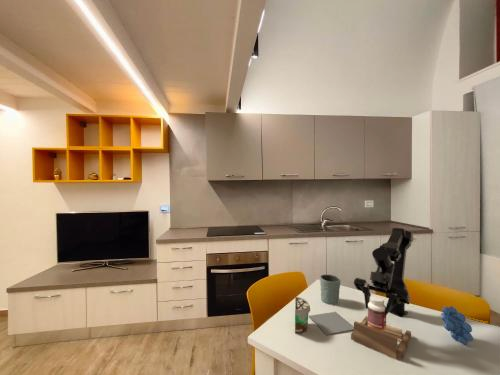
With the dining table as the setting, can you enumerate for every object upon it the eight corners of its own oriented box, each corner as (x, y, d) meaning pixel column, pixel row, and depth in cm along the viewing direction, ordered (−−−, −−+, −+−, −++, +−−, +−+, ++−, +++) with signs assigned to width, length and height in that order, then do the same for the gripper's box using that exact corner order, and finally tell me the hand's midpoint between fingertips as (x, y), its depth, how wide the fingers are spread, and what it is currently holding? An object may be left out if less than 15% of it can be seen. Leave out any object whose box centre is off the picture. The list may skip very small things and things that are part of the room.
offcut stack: (370, 325, 101) (370, 319, 101) (403, 336, 94) (403, 330, 94) (366, 332, 97) (367, 326, 97) (401, 344, 89) (401, 337, 89)
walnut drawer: (366, 320, 104) (366, 304, 104) (411, 336, 93) (411, 318, 93) (350, 339, 91) (350, 321, 91) (400, 361, 79) (400, 340, 79)
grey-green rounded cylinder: (323, 294, 129) (323, 272, 129) (342, 300, 123) (343, 276, 123) (317, 301, 121) (317, 278, 121) (337, 307, 115) (337, 283, 115)
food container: (311, 337, 92) (311, 311, 92) (294, 335, 93) (295, 310, 93) (309, 320, 104) (309, 297, 104) (295, 318, 105) (295, 296, 105)
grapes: (432, 331, 96) (432, 302, 96) (446, 330, 97) (446, 300, 97) (462, 351, 85) (462, 317, 85) (477, 349, 86) (477, 315, 86)
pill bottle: (388, 334, 85) (388, 303, 85) (369, 330, 87) (369, 300, 87) (384, 324, 91) (384, 295, 91) (366, 321, 93) (366, 293, 93)
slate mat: (335, 312, 111) (335, 311, 111) (356, 329, 97) (356, 328, 97) (308, 316, 107) (308, 315, 107) (326, 335, 93) (326, 334, 93)
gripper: (355, 258, 98) (344, 293, 90) (408, 268, 85) (401, 311, 77) (362, 272, 104) (352, 306, 96) (412, 284, 91) (406, 324, 83)
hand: (375, 311), depth 88 cm, fingers closed on pill bottle, 6 cm apart
